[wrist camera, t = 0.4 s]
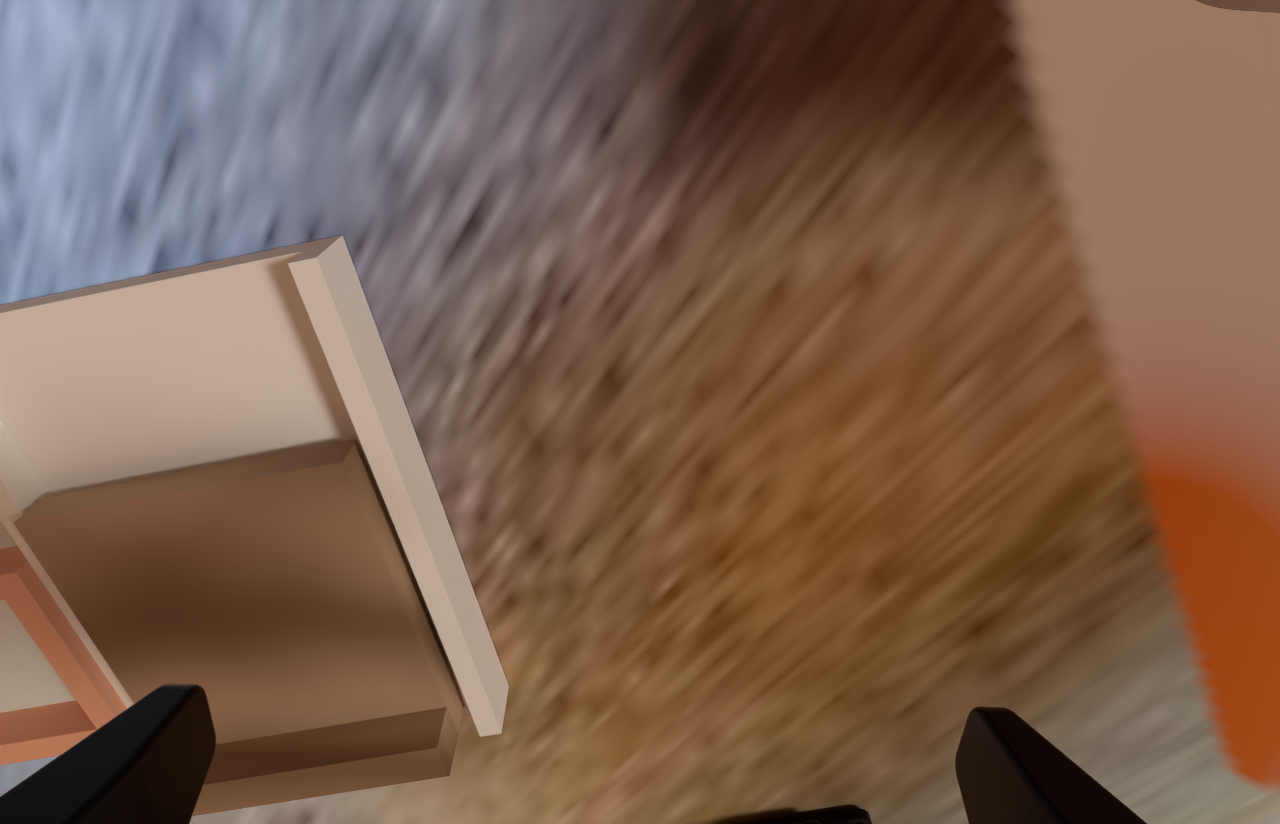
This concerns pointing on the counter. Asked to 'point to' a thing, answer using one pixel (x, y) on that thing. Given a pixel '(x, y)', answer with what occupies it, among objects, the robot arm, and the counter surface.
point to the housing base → (228, 410)
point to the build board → (43, 669)
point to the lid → (263, 618)
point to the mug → (1246, 5)
